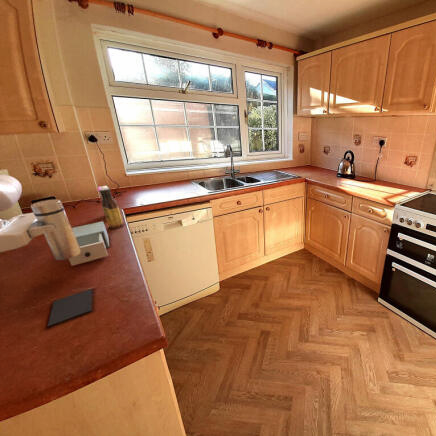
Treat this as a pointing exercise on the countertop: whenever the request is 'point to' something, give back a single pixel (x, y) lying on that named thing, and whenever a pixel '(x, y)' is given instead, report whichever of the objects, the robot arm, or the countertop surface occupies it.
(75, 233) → the cabinet
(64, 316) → the mat
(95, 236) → the drawer
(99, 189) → the candy bar box
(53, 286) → the countertop surface
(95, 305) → the countertop surface
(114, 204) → the sauce bottle
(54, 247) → the metal canister
